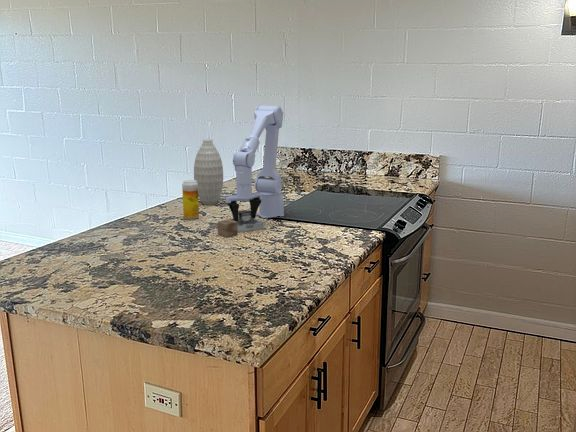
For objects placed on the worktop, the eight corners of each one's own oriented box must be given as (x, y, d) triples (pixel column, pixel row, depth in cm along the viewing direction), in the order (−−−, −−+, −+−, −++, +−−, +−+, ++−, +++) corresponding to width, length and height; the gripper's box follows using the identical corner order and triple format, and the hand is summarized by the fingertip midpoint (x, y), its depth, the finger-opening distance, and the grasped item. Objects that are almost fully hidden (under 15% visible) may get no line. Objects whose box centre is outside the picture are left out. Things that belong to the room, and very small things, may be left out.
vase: (189, 205, 253) (186, 140, 245) (204, 199, 264) (202, 137, 257) (215, 207, 248) (213, 142, 241) (228, 201, 259) (227, 138, 252)
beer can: (195, 220, 228) (194, 183, 224) (181, 219, 229) (179, 182, 225) (201, 216, 233) (199, 180, 229) (187, 215, 234) (185, 179, 231)
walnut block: (228, 232, 212) (228, 219, 211) (237, 235, 209) (237, 221, 207) (218, 235, 209) (217, 221, 207) (226, 238, 205) (226, 224, 204)
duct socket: (253, 222, 225) (253, 216, 225) (264, 229, 215) (264, 223, 215) (226, 225, 221) (226, 218, 220) (236, 233, 211) (236, 226, 210)
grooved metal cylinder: (253, 227, 218) (253, 212, 216) (241, 229, 215) (241, 214, 214) (247, 224, 222) (247, 209, 221) (235, 226, 219) (235, 211, 218)
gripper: (255, 179, 221) (255, 214, 225) (221, 184, 213) (222, 219, 217) (265, 182, 216) (265, 218, 219) (231, 187, 208) (231, 223, 211)
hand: (244, 219), depth 218 cm, fingers open, 7 cm apart
